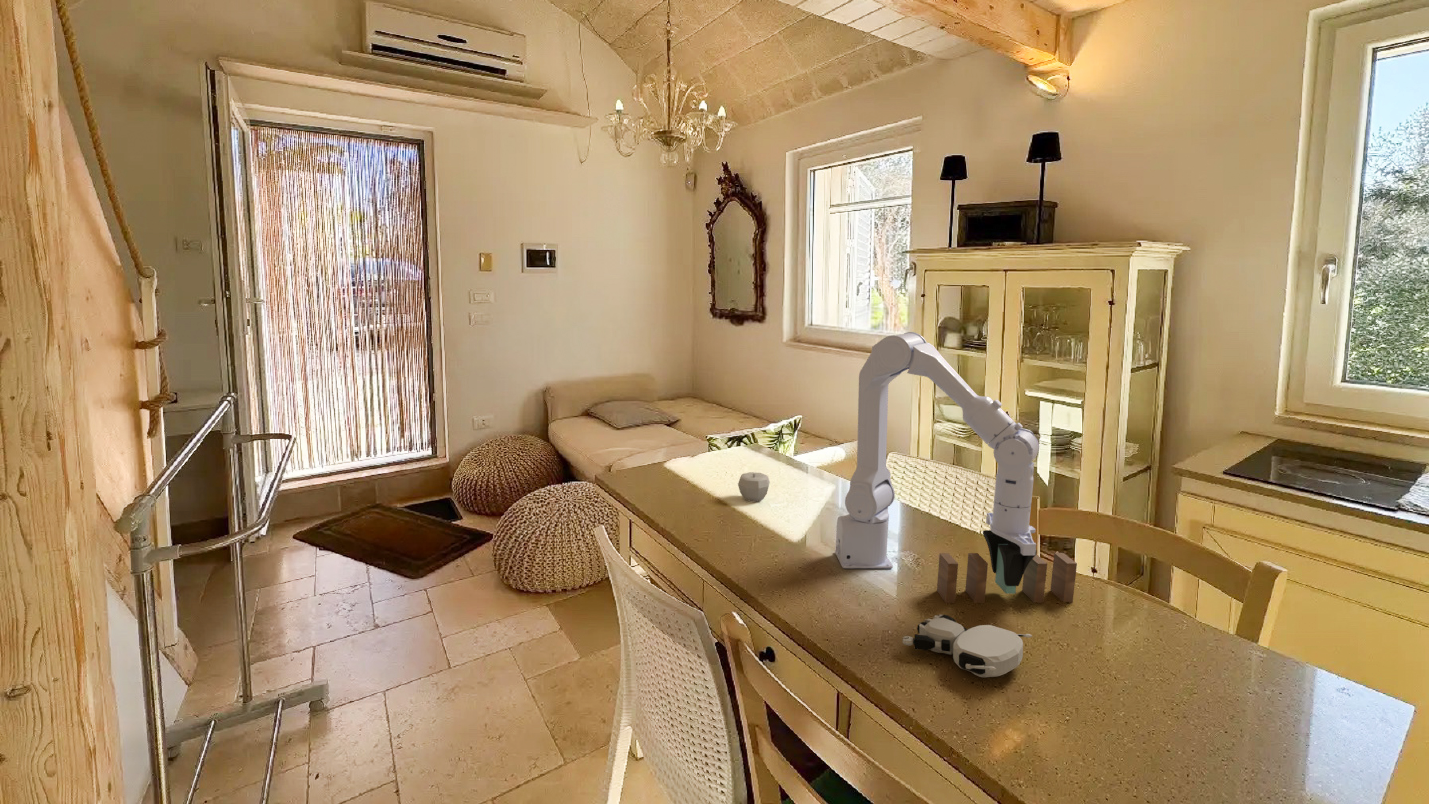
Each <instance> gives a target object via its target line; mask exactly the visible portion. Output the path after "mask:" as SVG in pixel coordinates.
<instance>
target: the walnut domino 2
mask: <svg viewBox="0 0 1429 804" xmlns="http://www.w3.org/2000/svg"><path fill="white" fill-rule="evenodd" d="M966 565H967V567H966V577H965V579H966V580H965V590H964V591H965V592H966V593H967V595H968V596H969V597H970V599H971V600H972V601H973V602H974V604H975V603H976V604H977V603H978V604H983V603H984V604H985V602H986V601H985V600H986V589H987V578H988V569H989V568H988V565H989V563H988V562H987V561H986V560H985V559H984V558H983V557H982V556H981V554H979V553H978V552H969V553H967V564H966Z"/></svg>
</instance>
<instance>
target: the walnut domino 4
mask: <svg viewBox="0 0 1429 804" xmlns="http://www.w3.org/2000/svg"><path fill="white" fill-rule="evenodd" d="M1077 565H1078V563H1077V562H1075V560H1073V559H1072V558H1071V557H1069V556H1068V555H1067V554H1066V553H1064V552H1053V561H1052V571H1051V582H1050V590H1051V591H1052V592H1053V595H1054V596H1056V597H1057V598H1058V599H1059V598H1060V599H1059V600H1060V601H1061V602H1062V601H1063V602H1069V603H1073V602H1074V594H1075V586H1076V585H1075V583H1076V576H1077V575H1076V574H1077ZM1051 591H1050V592H1051ZM1052 592H1051V593H1052ZM1063 602H1062V603H1063Z"/></svg>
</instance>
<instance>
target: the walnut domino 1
mask: <svg viewBox="0 0 1429 804" xmlns="http://www.w3.org/2000/svg"><path fill="white" fill-rule="evenodd" d="M938 555H939V556H938V571H937V583H936V592H937V593H938V594H940V595H939V596H940V597H941V599H942V600H943V601H944V603H946V604H955V603H956V595H957V586H958V585H957V582H958V570H959V563H958V562H957V560H956V559H955V558H954V557H953V556H952V555H951V554H950V553H949V552H940V553H939V554H938Z"/></svg>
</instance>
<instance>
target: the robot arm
mask: <svg viewBox="0 0 1429 804" xmlns="http://www.w3.org/2000/svg"><path fill="white" fill-rule="evenodd" d="M905 371H907V372H906V373H907V374H909V375H913V376H921V377H926V378H928V379H929V380H930V381H931V382H933V383H934V384H935V385H936V386H937V387H938V388H939V389H941V391H942V392H944V393H945V394H946V396H948V397H949V398H950V399H951V400H952V401H953V402H955V403H956V405H957V406H959V407H960V408H961V410H962V420H963V421H964V423H966V424H967V426H969V428H970V429H971V430H973V432H975V434H976V435H977V436H979V438H980V439H981V440H982V441H983V442H984V443H985V444H986V445H987V446H988V447H989V448H991V449H993V457H994V459H995V462H996V463H997V470H996V475H995V484H994V494H993V495H994V496H993V508H992V512H986V521H985V523H986V524H987V525H988V526H989V528H990V529H986V530H982V535H983V537H984V539H985V542H986V545H987V547H988V552H989V557H990V564H991V569H992V573H993V574H996V565H997V554H998V547H999V550H1000V552H1001V555H1002V559H1003V565H1004V581H1005V585H1006V586H1016V587H1019V585H1020V583H1021V581H1022V579H1023V576H1024V571H1025V569H1026V567H1027V566H1028V564H1029V562H1030V561H1031V560H1032V559H1033V557H1034V556H1035V555H1036V554H1037V551H1038V550H1037V543H1036V542H1034V540H1033V536H1032V534H1035V533H1036V528H1035V527H1034V526H1032V525H1030V519H1031V512H1032V511H1031V509H1032V500H1033V499H1032V497H1033V490H1034V471H1035V468H1034V467H1035V462H1033V461H1034V460H1035V459H1036V457H1037V456H1038V454H1039V450H1040V444H1039V440H1038V439H1037V436H1035V434H1034V432H1033V431H1032V430H1030V429H1026V428H1023V427H1024V426H1023V424H1021V423H1020V422H1017V423H1016V422H1015V420H1014V419H1012V418H1011V416H1010V415H1008V414H1007V412H1005V411H1004V410H1003V409H1002V408H1001V407H1002V406H1003V404H1002V402H1001V401H1000V400H999V399H995V400H993V399H992V398H991V397H990V396H986V395H985V396H984V395H983V396H982V395H978V394H977V392H975V391H974V390H973V388H971V386H970V385H969V384H967V382H966V381H965V379H964V378H962V376H960V374H958V372H957V371H956V370H955V369H954V368H953V367H952V366H951V365H950V363H948V361H946V359H945V358H944V357H943V356H942V355H941V353H940V351H938V349H937V348H936V347H935V346H934V345H933V344H932V343H930V342H927V340H926V339H925V338H924V336H922V334H920V333H917V332H914V331H908V332H905V333H902V334H892V335H887V336H885V337H883V338H882V339H881V340H880V341H878V342H877V343H875V344H874V345H873V346H872V347H871V353H870V354H869V356H868V357H867V359H866V361H865V362H864V364H863V366H862V367H861V369H860V371H859V374H858V401H857V402H858V405H857V406H858V407H857V446H856V447H857V450H856V451H857V452H856V453H857V454H856V455H857V460H856V468H855V470H854V472H853V475H852V476H851V478H850V482H849V490H848V492H847V493H846V494H845V495H846V496H845V499H844V504H845V508H846V511H847V513H848V514H846V515H839V516H838V517H837V520H836V530H835V531H836V534H835V550H834V553H835V555H836V557H837V559H838V561H839V564H840V566H841V568H842V569H893V567H894V566H893V564H892V562H891V560H890V559H889V558H888V555H887V554H888V553H887V551H888V538H889V537H888V535H889V533H888V532H889V518H890V513H889V507H890V506H891V505H892V504H893V503H894V502H895V501H894V500H895V497H896V495H895V489H894V488H895V487H893V486H894V485H893V484H892V480H891V472H890V470H889V468H888V467H887V448H888V447H887V445H888V443H887V442H888V414H889V412H888V411H889V410H888V408H889V407H888V406H889V405H888V404H889V384H891V382H892V381H894V380H895V379H896V378H897V377H898V376H900V375H901V374H902V373H903V372H905ZM998 544H1008V545H998Z"/></svg>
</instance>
